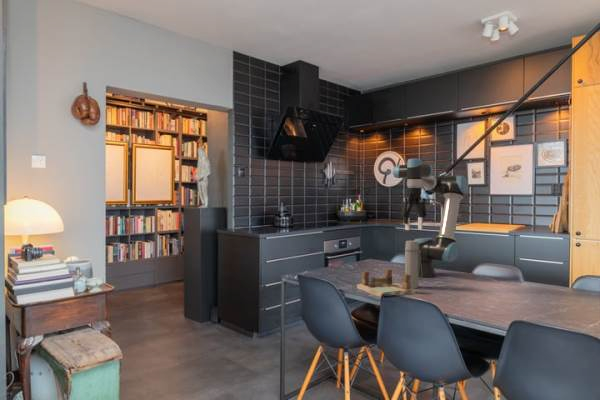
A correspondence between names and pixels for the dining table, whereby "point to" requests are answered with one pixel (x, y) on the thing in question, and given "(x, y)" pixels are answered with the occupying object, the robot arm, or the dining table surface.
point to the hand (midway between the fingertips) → (413, 229)
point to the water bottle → (412, 262)
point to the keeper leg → (380, 281)
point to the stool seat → (402, 288)
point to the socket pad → (384, 289)
